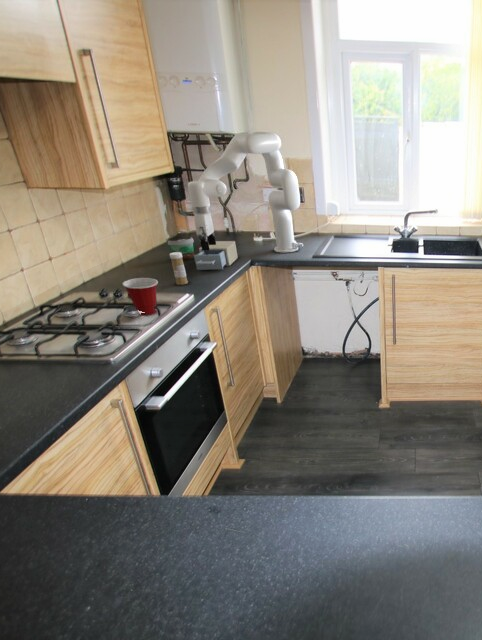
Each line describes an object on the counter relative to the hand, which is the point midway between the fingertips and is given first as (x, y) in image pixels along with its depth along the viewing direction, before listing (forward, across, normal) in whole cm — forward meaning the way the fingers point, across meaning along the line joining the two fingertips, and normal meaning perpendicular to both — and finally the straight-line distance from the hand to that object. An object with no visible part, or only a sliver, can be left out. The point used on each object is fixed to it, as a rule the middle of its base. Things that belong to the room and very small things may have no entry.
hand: (209, 247), depth 220 cm
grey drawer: (+9, 0, 0) cm, 9 cm away
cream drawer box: (+10, -12, 0) cm, 15 cm away
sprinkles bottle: (+10, +22, -6) cm, 25 cm away
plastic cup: (+10, +56, -6) cm, 57 cm away
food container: (+10, -18, -18) cm, 27 cm away
